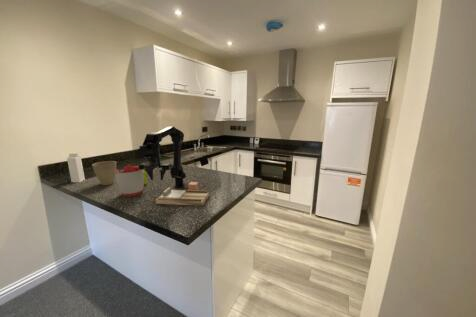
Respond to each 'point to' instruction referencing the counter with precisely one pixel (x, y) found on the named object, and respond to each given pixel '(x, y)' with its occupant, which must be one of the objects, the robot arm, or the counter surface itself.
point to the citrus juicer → (130, 180)
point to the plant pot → (105, 171)
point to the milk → (75, 168)
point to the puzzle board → (186, 198)
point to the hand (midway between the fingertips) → (156, 180)
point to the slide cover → (172, 193)
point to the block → (193, 186)
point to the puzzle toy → (145, 177)
